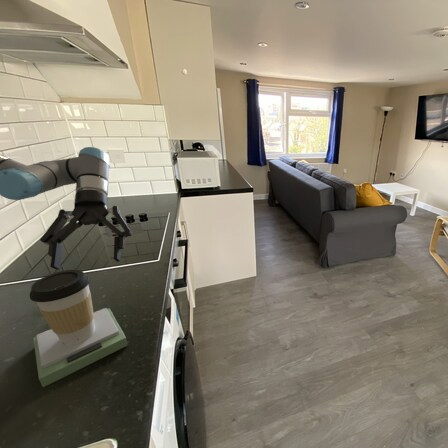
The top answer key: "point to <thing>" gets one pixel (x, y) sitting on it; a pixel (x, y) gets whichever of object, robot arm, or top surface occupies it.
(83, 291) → the coffee cup
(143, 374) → the top surface
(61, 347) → the kitchen scale
